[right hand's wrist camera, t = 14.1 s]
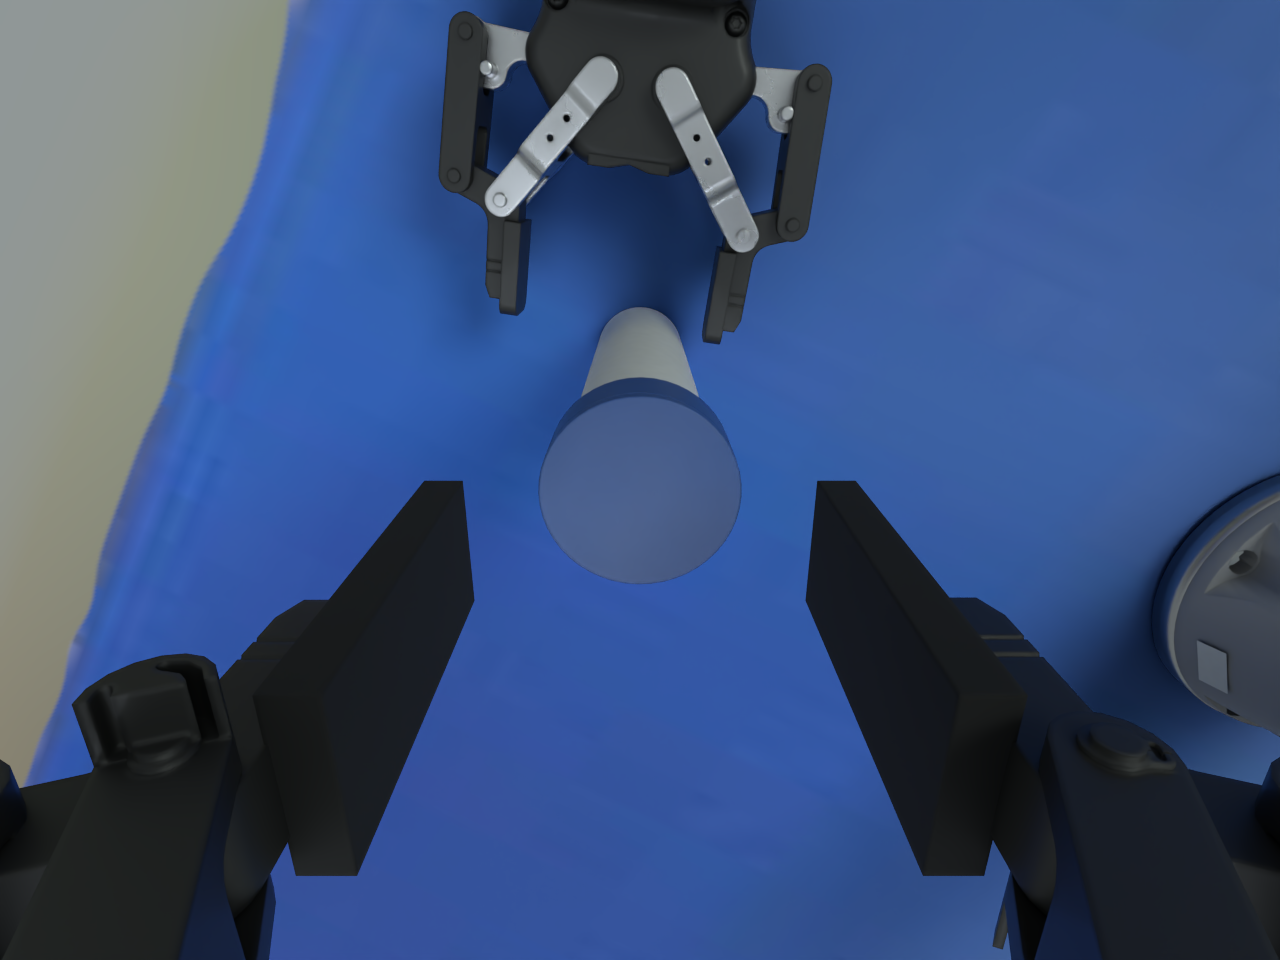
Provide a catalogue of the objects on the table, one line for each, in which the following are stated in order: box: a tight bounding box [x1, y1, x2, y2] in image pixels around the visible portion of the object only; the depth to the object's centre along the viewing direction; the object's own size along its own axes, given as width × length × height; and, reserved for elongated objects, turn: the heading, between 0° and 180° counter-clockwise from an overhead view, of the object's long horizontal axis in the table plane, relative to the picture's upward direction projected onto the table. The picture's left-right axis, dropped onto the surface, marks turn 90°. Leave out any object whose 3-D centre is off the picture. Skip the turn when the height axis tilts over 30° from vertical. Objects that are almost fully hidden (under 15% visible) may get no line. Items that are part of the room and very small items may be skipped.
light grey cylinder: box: [581, 307, 699, 397], centre depth 26 cm, size 4×4×18 cm
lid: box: [539, 377, 741, 584], centre depth 17 cm, size 5×5×2 cm
